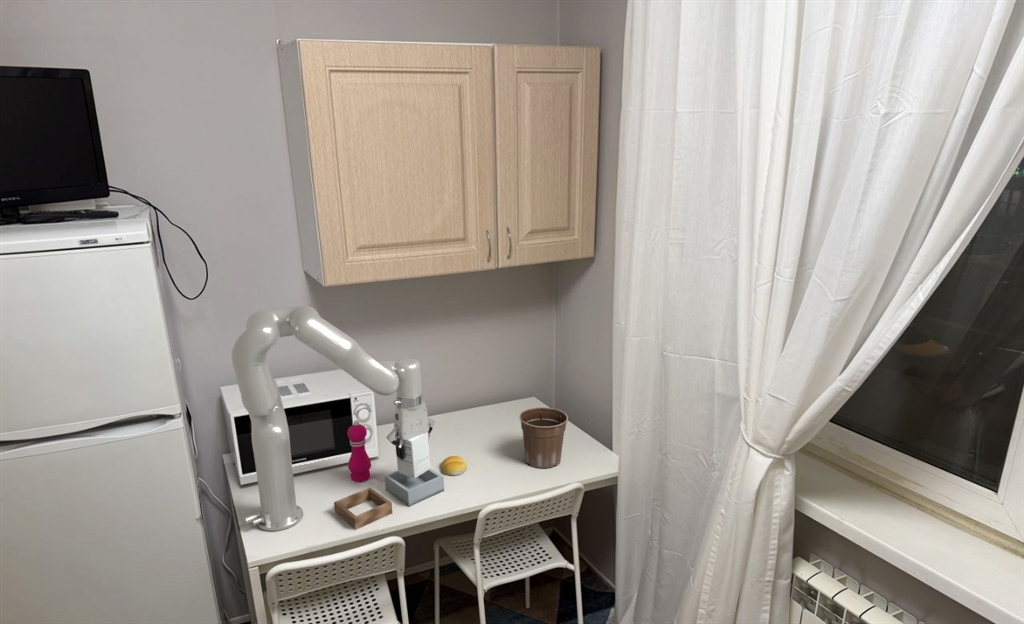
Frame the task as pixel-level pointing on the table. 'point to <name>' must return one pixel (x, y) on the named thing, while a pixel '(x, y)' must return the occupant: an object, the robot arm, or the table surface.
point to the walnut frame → (366, 517)
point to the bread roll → (453, 466)
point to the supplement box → (415, 456)
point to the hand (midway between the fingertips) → (412, 452)
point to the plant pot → (543, 435)
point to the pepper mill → (358, 453)
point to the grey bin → (414, 486)
